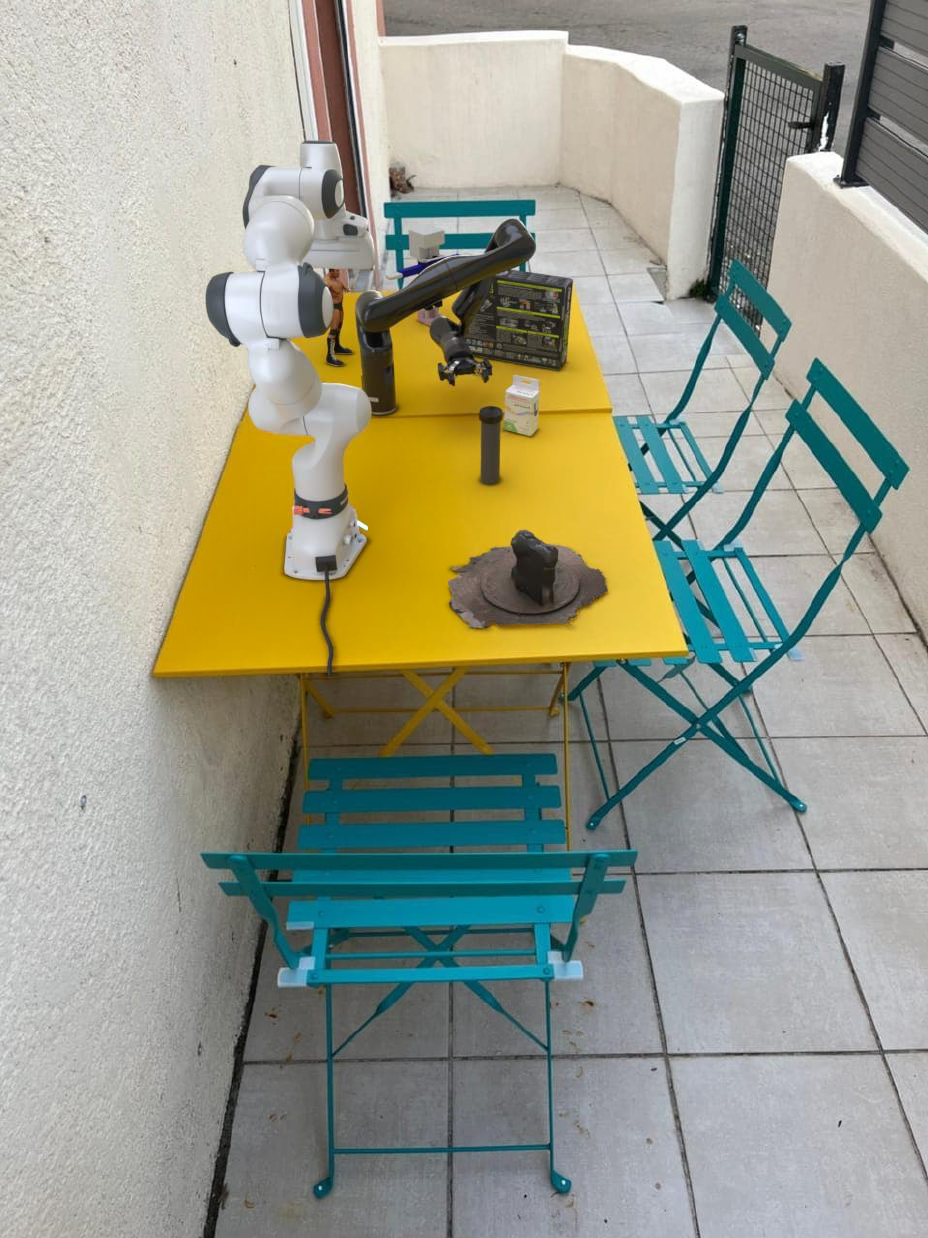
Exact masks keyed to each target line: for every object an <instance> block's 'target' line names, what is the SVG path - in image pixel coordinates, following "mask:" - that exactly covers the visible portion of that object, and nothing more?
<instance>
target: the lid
mask: <svg viewBox="0 0 928 1238" xmlns="http://www.w3.org/2000/svg"><path fill="white" fill-rule="evenodd" d="M478 419H479V421H480V423H481V422H483V423H485V424H497V423H499V422H501V423H502V422H503V420H504V411H503V409H502V408H501V407H498V406H495V405H487V406H483V407H481V408H480V409H479V410H478Z"/></svg>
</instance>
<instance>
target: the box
mask: <svg viewBox="0 0 928 1238" xmlns="http://www.w3.org/2000/svg"><path fill="white" fill-rule="evenodd" d="M573 285H574V278H570V277H566V276H559V275H552V274H547V273H545V274H544V273H540V272H539V273H538V272H532V271H525V270H517V269H510V270H508V271H505V272H502V273H499V274H497V275H495V276H494V279H493V282H492V286H491V289H490V292H489V295H488V297H487V299H486V301H485V303H484V304H483V306H482V307H481V308H480V310H479V311H478V313H477V314H476V315H475V317H474V318H473V320H472V322H471V324H470V326H469V328H468V331H467V334H466V336H465V339H464V340H465V342H466V343H467V344H468V346H469V348H470V350H471V352H472V354H473V356H474V357H478V358H487V359H490V360H498V361H501V362H508V363H513V364H517V365H525V366H531V367H538V368H544V369H547V370H554V371H560V370H561V369H562V367H563V366H564V365H565V363H566V362H567V360H568V359H567V358H568V346H569V345H568V344H569V336H570V335H569V334H570V323H571V322H570V321H571V309H572V308H571V307H572V299H573Z"/></svg>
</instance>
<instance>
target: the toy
mask: <svg viewBox="0 0 928 1238" xmlns="http://www.w3.org/2000/svg"><path fill="white" fill-rule="evenodd" d="M445 240H446V239H445V230H444V229H442V228H439V227H437V226H434V225H431V224H430V223H429V224H425V225H421V226H417V227H413V228H410V229H408V246H409V247H408V248H409V256H410V257H412V258H414V259H416V261H417V264H415V265H411V266H408V267H404V268H401V269H398V270H397V271H395V272H391V273H388V274H385V275H384V276H385V279H386V280H388V281H395V280H399V279H402V280H403V279H406V278H409V277H413V276H417V275H419V274H420V273H421V272H422V271H423V270H424V269H426V268H427V267H429V266H430V265H433V264H434V263H436V262H439V261H441V260H443V259H445V258H447V257H451V256H458V255H474V254H473V253H471V252H468V251H466V252H462V253H460V254H459V253H454V254H451V255H447V256H445V254H440V246H441V245H444V244H445ZM443 304H444V303H443V300H441V301H438V302H436V303H434V304H432V305H430V306H428V307H426V308H424V309H422V310H420V311H417V312H416V313H417V321H418V322H421V323H422V324H424V325H426V326H428V327H430V324H431V322H432V320H433V319H434V318H436V317H438V316H444V314H441V313H440V310H439V309H440V308H441V307H443V306H444V305H443Z"/></svg>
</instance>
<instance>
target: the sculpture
mask: <svg viewBox="0 0 928 1238" xmlns="http://www.w3.org/2000/svg"><path fill="white" fill-rule="evenodd" d="M489 550H490V551H488V552H483V553H481V555H477V556H470V557H469V562H468V563H467V564H465V565H462V566H457V567H456V566H455V567H451V570H453V571H459V572H457V574H456V575H457V576H456V577H454V578H450V579H449V580H447V584H448V587H449V590H450V593H451V594H452V597H451V599H450V600H449V601H448V606H449V607H450V609H452V610H453V611H454V612H455V613H456V614H457V615H458V616H459V617H460V618H461V619H462V621H464V622H466V623H468V625H467V627H468V628H474V629H483V628H484V629H489V627H488V626H489V624H491V623H494V624H495V625H496V626H497V627H500V626H506V625H508V626H509V625H549V624H559V625H567V624H568V625H569V626H573V625H572V623H570V622H569V621H568V620H571V619H574V618H577V612H578V609H580V608H582V607H584V606H589V605H591V604H592V602H593V601H594V600H595V599H599V598H600V597H601V595H603V594H605V593H607V592H608V589H609V587H608V586H607V584H606V579H607V578H606V577H605V576H604V575H603V571H601V570H600V569H599V568H596V569H595V568H593V567H590V566H588V565H587V564H586V562H585V560H584V559H583V555H582V554H580V552H577V551H575V550H573V549H572V548H570V547H567V546H563V545H559V544H558V545H557V544H550V543H546V542H544V541H543V540H542V539H539V537H537V536H535V534H534V533H533V532H532V531H529V530H528V529H520V530H517V531H516V533H515V534H514V536H513V537H511V540H510V544H509V546H499V547H498V546H497V547H496V546H494V547H491V548H490V549H489ZM576 553H577V554H576ZM474 563H475V564H474Z"/></svg>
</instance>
